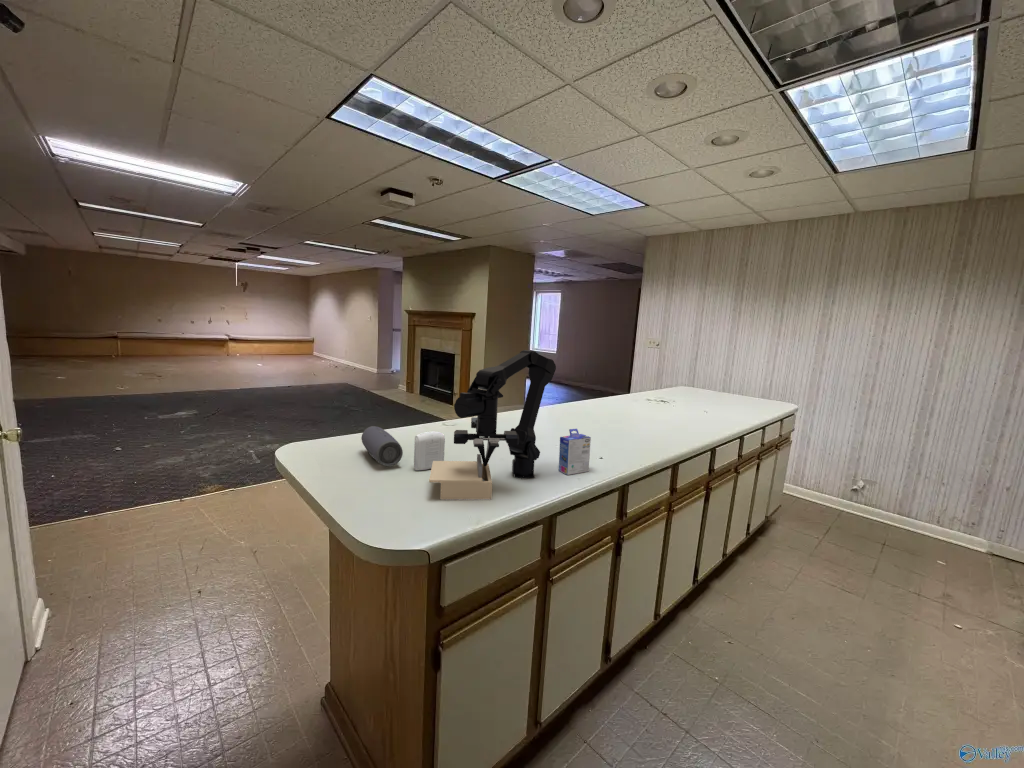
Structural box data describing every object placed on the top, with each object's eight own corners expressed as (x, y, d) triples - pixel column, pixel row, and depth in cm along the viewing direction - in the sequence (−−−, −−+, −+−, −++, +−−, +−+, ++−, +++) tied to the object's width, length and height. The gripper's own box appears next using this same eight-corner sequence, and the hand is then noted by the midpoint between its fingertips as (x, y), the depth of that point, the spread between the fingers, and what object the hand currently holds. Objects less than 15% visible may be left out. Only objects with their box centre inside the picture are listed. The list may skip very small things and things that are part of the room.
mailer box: (487, 478, 131) (488, 463, 130) (491, 499, 115) (492, 482, 114) (442, 478, 129) (443, 463, 128) (440, 499, 113) (440, 482, 112)
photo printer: (440, 463, 143) (441, 428, 141) (445, 467, 139) (447, 431, 138) (411, 468, 137) (412, 431, 135) (416, 472, 133) (417, 434, 132)
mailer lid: (479, 463, 130) (480, 452, 129) (482, 482, 114) (482, 469, 113) (433, 462, 128) (433, 451, 128) (429, 482, 112) (429, 469, 111)
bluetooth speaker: (404, 468, 137) (405, 438, 135) (375, 472, 132) (375, 441, 130) (385, 449, 156) (385, 423, 154) (359, 452, 151) (359, 425, 150)
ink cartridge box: (579, 466, 147) (582, 427, 145) (589, 471, 143) (592, 430, 141) (557, 470, 142) (559, 429, 140) (567, 475, 137) (570, 433, 135)
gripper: (515, 409, 129) (512, 457, 131) (454, 407, 126) (453, 456, 128) (520, 416, 118) (517, 469, 120) (454, 415, 115) (452, 469, 117)
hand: (485, 465), depth 122 cm, fingers closed
